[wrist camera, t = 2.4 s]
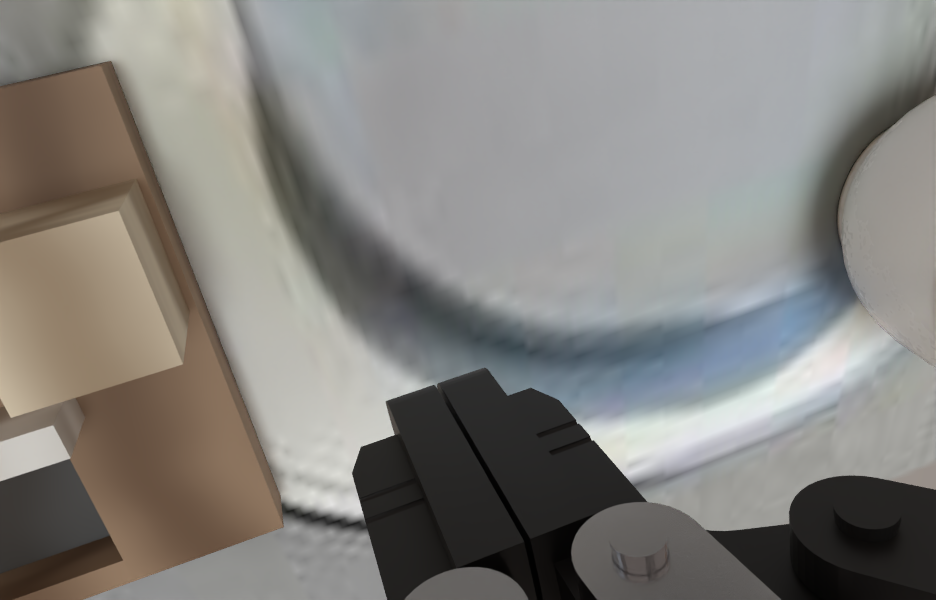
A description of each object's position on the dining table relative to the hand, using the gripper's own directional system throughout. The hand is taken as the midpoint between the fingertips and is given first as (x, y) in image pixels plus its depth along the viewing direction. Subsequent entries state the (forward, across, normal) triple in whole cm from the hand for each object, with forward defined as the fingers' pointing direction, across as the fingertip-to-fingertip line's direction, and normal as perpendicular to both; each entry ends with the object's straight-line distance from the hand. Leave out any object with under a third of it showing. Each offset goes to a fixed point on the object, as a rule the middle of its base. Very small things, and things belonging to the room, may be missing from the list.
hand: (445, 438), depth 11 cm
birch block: (+15, +7, 0) cm, 17 cm away
